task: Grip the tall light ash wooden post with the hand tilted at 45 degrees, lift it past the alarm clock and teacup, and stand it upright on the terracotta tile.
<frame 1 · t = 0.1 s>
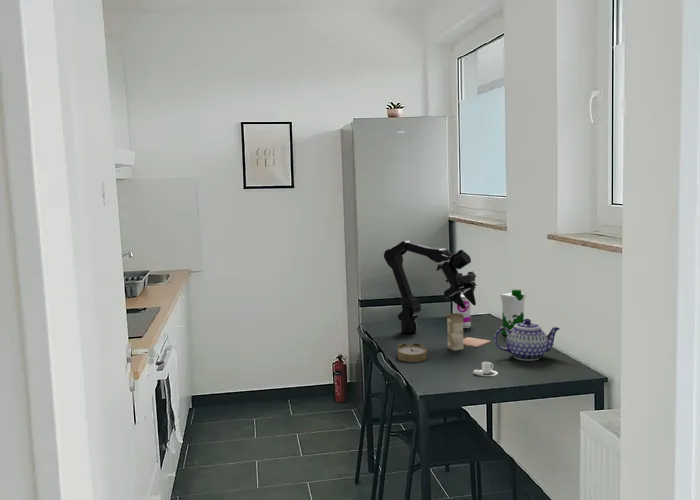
hand: (469, 306, 280), 15 cm above the table, tool tilted 35°, fingers open, 9 cm apart
milk carton: (512, 335, 292), on the table
terracotta tile: (472, 342, 279), on the table
alarm clock: (411, 357, 259), on the table
ash post: (455, 348, 270), on the table
teapot: (526, 357, 254), on the table
supplement can: (461, 327, 309), on the table
teacup and saucer: (478, 373, 237), on the table
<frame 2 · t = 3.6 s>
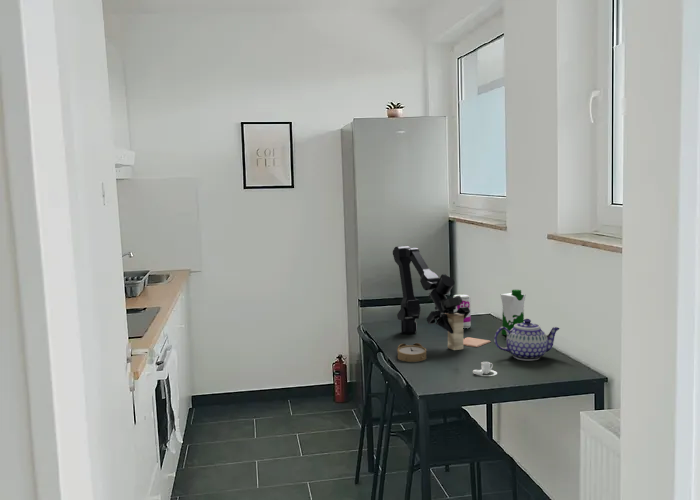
hand: (457, 332, 268), 7 cm above the table, tool tilted 45°, fingers closed on ash post, 5 cm apart
ash post: (455, 348, 270), on the table, touching gripper
everything else where it was.
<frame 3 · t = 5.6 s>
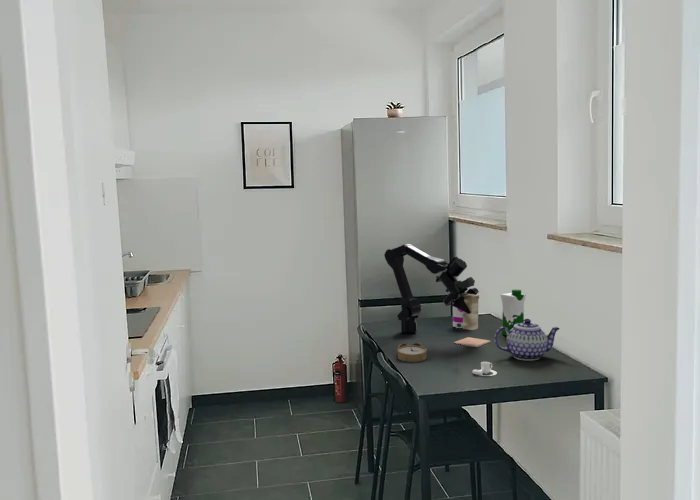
hand: (473, 312, 276), 13 cm above the table, tool tilted 45°, fingers closed on ash post, 4 cm apart
ash post: (470, 328, 277), point 6 cm above the table, touching gripper
everything else where it was.
when the fingers open (9 cm above the table, at t = 7.5 s): ash post drops 1 cm, resting on terracotta tile.
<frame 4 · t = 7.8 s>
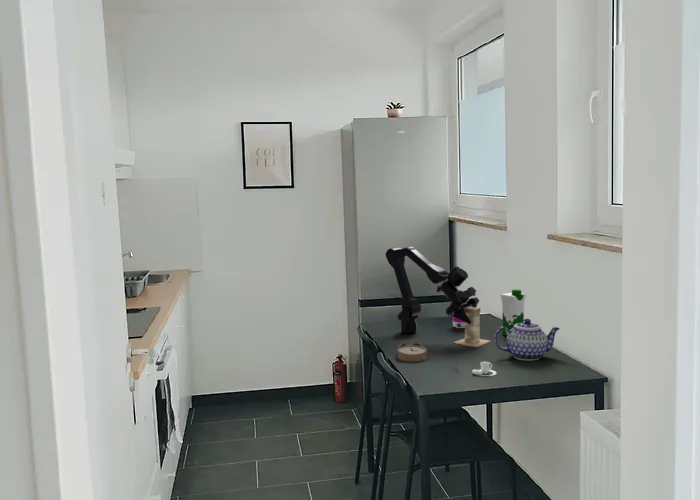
hand: (475, 322, 277), 9 cm above the table, tool tilted 45°, fingers open, 7 cm apart
ash post: (472, 341, 279), point 1 cm above the table, touching terracotta tile
everything else where it was.
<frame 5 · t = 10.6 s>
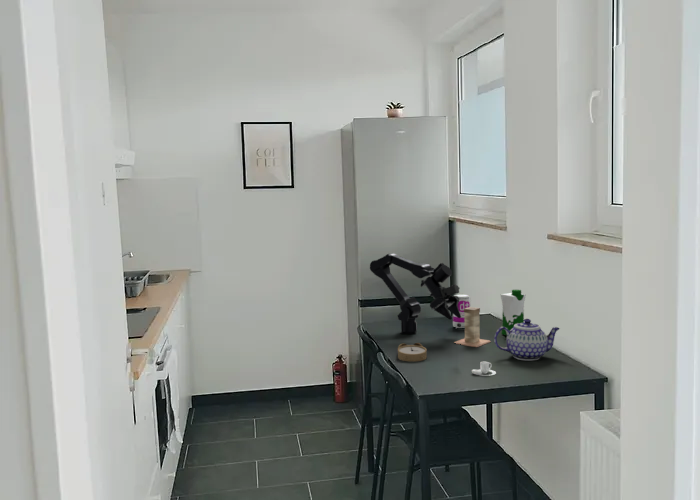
hand: (455, 318, 284), 9 cm above the table, tool tilted 40°, fingers open, 9 cm apart
nothing on the table moved.
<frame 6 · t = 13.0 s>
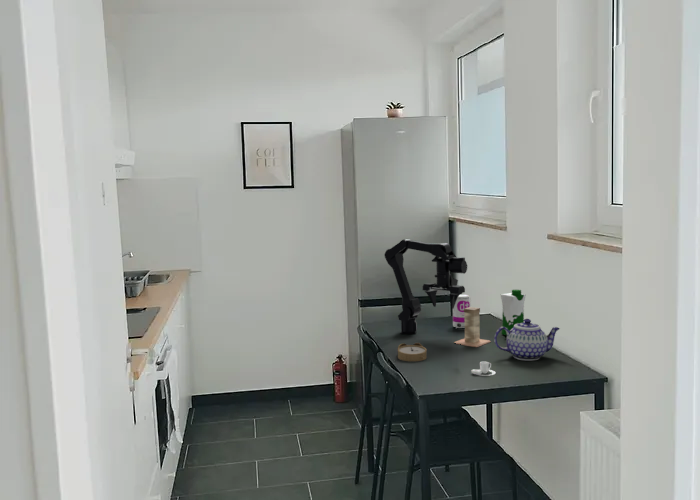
hand: (443, 307, 289), 13 cm above the table, tool pointing down, fingers open, 9 cm apart
nothing on the table moved.
at the end: ash post inside the target area on the terracotta tile (0.2 cm from its centre), point 0.6 cm above the terracotta tile's base; ash post tilted 0°; the gripper is holding nothing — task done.
